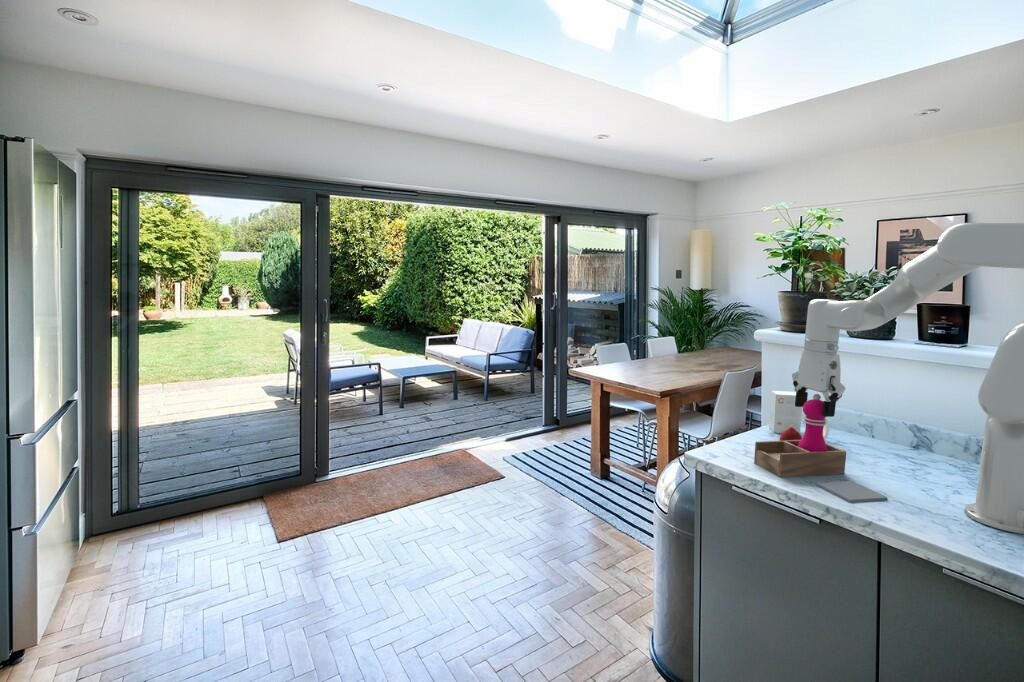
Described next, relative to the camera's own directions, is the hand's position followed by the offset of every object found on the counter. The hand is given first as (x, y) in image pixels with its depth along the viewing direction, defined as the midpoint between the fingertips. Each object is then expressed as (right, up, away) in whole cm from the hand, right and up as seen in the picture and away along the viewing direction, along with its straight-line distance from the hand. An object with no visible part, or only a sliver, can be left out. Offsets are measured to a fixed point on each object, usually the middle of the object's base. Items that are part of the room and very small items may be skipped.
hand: (813, 411), depth 137 cm
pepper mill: (0, -15, +1) cm, 15 cm away
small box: (+11, -12, +36) cm, 39 cm away
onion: (+1, -14, +14) cm, 20 cm away
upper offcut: (-9, -14, -1) cm, 16 cm away
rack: (-4, -15, +1) cm, 16 cm away
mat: (0, -17, -15) cm, 23 cm away
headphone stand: (+11, -14, +19) cm, 26 cm away
